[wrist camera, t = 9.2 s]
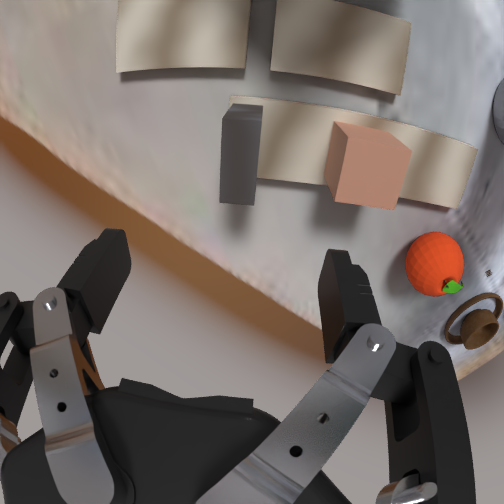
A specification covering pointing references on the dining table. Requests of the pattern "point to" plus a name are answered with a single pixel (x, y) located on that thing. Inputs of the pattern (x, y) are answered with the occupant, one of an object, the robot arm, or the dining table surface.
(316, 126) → the unbroken strip
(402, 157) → the terracotta block
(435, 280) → the clementine
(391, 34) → the broken strip
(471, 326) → the brown cup and saucer
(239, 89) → the dining table surface
